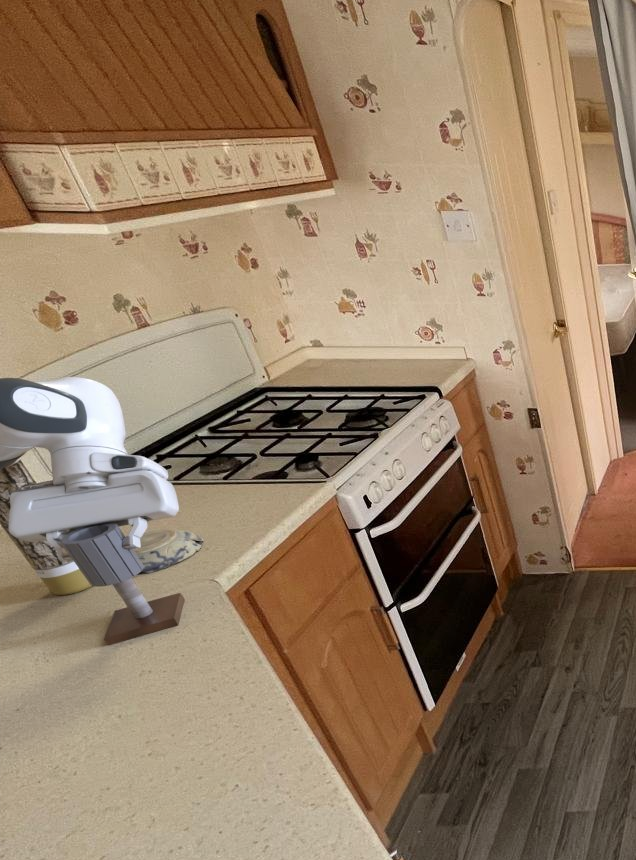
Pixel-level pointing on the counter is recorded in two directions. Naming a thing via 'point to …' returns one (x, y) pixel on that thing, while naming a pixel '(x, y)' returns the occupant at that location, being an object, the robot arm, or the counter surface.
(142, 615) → the stand
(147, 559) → the decorative bowl
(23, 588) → the counter surface
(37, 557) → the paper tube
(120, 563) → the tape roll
